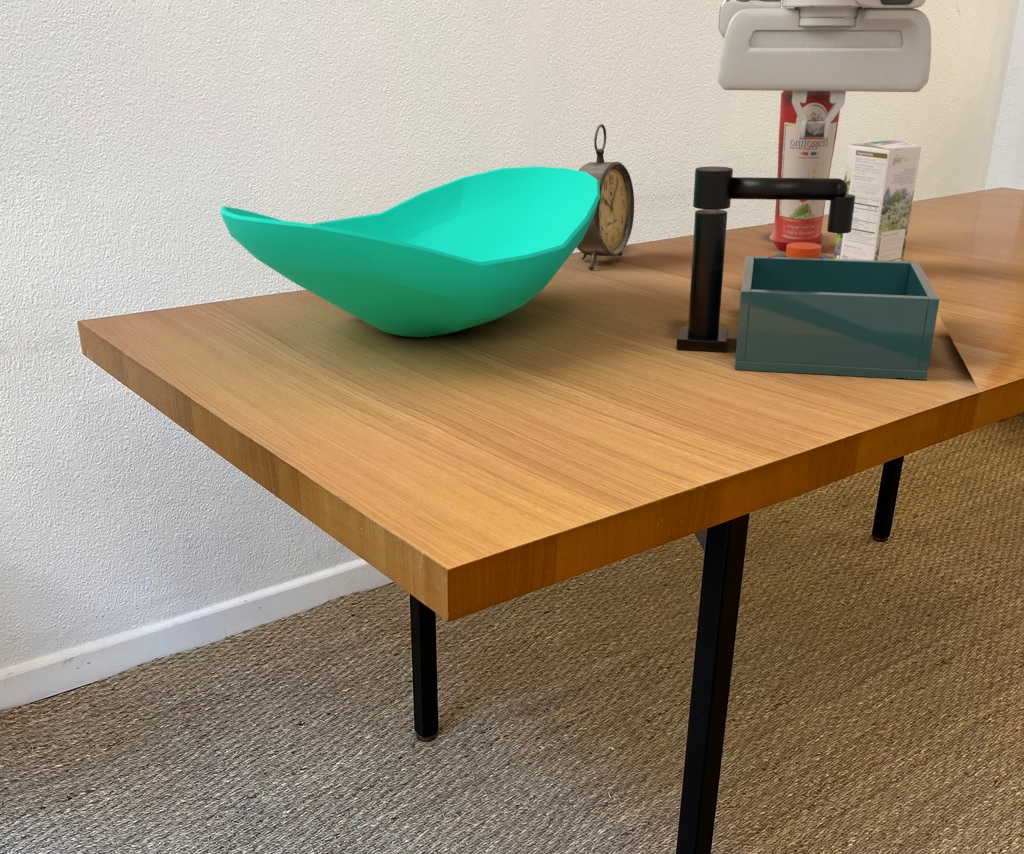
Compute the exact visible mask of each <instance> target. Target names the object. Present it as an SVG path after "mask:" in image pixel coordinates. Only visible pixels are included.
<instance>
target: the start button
mask: <svg viewBox="0 0 1024 854" xmlns="http://www.w3.org/2000/svg"><path fill="white" fill-rule="evenodd" d="M785 253H786V257H792V258H820V256H821V254H822V245H821V244H815V243H807V242H796V243H789V244H787V247H786V251H785Z"/></svg>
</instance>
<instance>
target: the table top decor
mask: <svg viewBox="0 0 1024 854" xmlns="http://www.w3.org/2000/svg"><path fill="white" fill-rule="evenodd" d="M578 170H579V169H578ZM578 170H577V169H571V168H567V167H566V168H565V167H551V166H539V165H538V166H537V165H535V166H518V167H501V168H496V169H492V170H487V171H484V172H479V173H476V174H475V173H474V174H471V175H467V176H463V177H460V178H457V179H455V180H452V181H449V182H446V183H443V184H440V185H438V186H435V187H433V188H430V189H428V190H425V191H422V192H420V193H417V194H416V195H414V196H412V197H410V198H408V199H405V200H403V201H402V202H400V203H398V204H396V205H393V206H392V207H389V208H388V209H386V210H384V211H382V212H380V213H379V212H378V213H372V214H365V215H358V216H352V217H346V218H340V219H333V220H327V221H319V222H315V223H307V222H297V221H290V220H289V221H288V220H282V219H279V218H275V217H273V216H269V215H265V214H262V213H259V212H255V211H251V210H246V209H243V208H238V207H231V206H222V207H221V209H220V216H221V218H222V220H223V222H224V224H225V227H226V229H227V231H228V233H229V235H230V236H231V238H233V239H234V240H235V241H236V242H237V243H238V244H239V245H240V246H241V247H243V249H245V250H246V251H247V252H248V253H249V254H250V255H251V256H253V258H255V259H256V260H258V261H259V262H261V263H262V264H264V265H266V266H267V267H269V268H270V269H272V271H275V272H277V273H278V274H280V275H281V276H282V277H284V278H286V279H287V280H289V281H291V282H292V283H294V284H296V285H298V286H299V287H301V288H303V289H305V290H307V291H308V292H310V293H312V294H313V295H315V296H317V297H319V298H320V299H322V300H324V301H326V302H328V303H330V304H331V305H333V306H335V307H337V308H339V310H342V311H344V312H346V313H347V314H350V315H352V316H353V317H355V318H358V319H359V320H361V321H363V322H365V324H368V325H370V326H372V327H374V328H376V329H378V330H379V331H381V332H384V333H386V334H391V335H394V336H401V337H406V338H407V337H409V338H410V337H411V338H431V337H430V336H433V337H438V336H437V335H439V336H444V334H445V335H448V334H453V333H456V332H460V331H464V330H466V329H470V328H474V327H476V326H479V325H483V324H487V323H489V322H492V321H496V320H497V319H499V318H502V317H504V316H506V315H508V314H510V313H511V312H513V311H516V310H518V309H521V307H523V306H525V304H527V303H528V302H529V301H530V300H532V299H533V298H534V297H535V296H537V295H538V294H540V292H542V290H544V289H545V288H546V287H547V285H548V284H549V283H550V281H552V279H553V278H554V277H555V275H556V274H557V273H558V272H559V270H560V269H561V268H562V266H563V265H564V264H565V262H566V261H567V260H568V259H569V258H570V256H571V255H572V254H573V252H574V251H575V250H576V249H577V246H578V245H579V243H580V242H581V241H582V240H583V238H584V236H585V234H586V232H587V230H588V228H589V225H590V223H591V221H592V219H593V217H594V215H595V211H596V208H597V205H598V202H599V199H600V186H599V181H598V180H597V179H596V178H594V177H593V176H591V175H590V174H588V173H586V172H584V171H578Z"/></svg>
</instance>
